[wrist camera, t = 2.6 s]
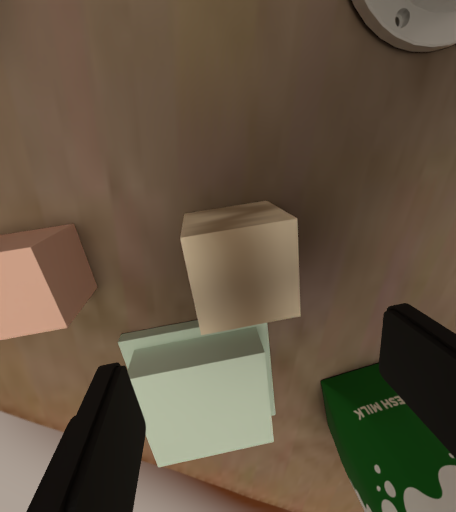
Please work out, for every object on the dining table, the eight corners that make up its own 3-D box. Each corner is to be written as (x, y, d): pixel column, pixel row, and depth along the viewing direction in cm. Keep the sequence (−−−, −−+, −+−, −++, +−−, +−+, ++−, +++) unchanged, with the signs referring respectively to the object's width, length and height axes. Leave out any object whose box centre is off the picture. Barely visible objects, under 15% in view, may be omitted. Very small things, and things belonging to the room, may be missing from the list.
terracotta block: (74, 223, 17) (30, 247, 13) (97, 286, 19) (67, 327, 15) (-2, 235, 17) (-75, 264, 12) (29, 298, 19) (-24, 344, 14)
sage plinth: (263, 307, 22) (277, 338, 18) (272, 405, 26) (285, 446, 22) (121, 334, 21) (105, 372, 17) (156, 430, 25) (149, 476, 22)
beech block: (266, 200, 18) (297, 218, 13) (271, 273, 21) (300, 316, 15) (184, 213, 18) (179, 237, 12) (199, 286, 20) (201, 335, 15)
